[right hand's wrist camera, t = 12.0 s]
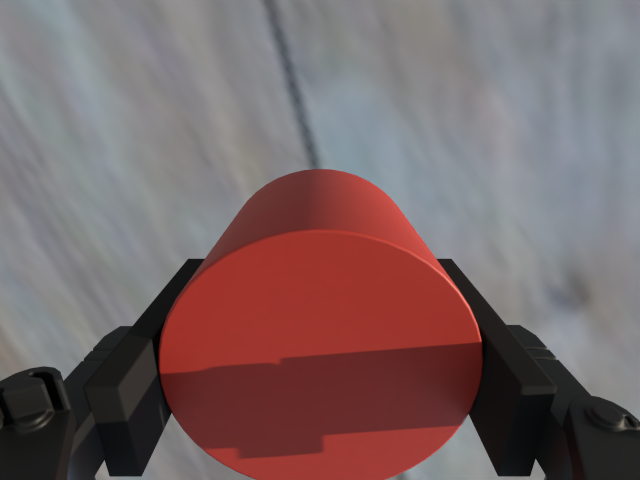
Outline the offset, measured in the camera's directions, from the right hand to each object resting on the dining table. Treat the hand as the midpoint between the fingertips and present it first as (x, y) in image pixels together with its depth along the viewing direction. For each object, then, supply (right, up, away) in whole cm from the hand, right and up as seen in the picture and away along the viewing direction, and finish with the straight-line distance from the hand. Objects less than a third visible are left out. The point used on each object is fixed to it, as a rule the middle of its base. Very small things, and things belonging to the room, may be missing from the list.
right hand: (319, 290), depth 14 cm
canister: (0, +1, +2) cm, 3 cm away
